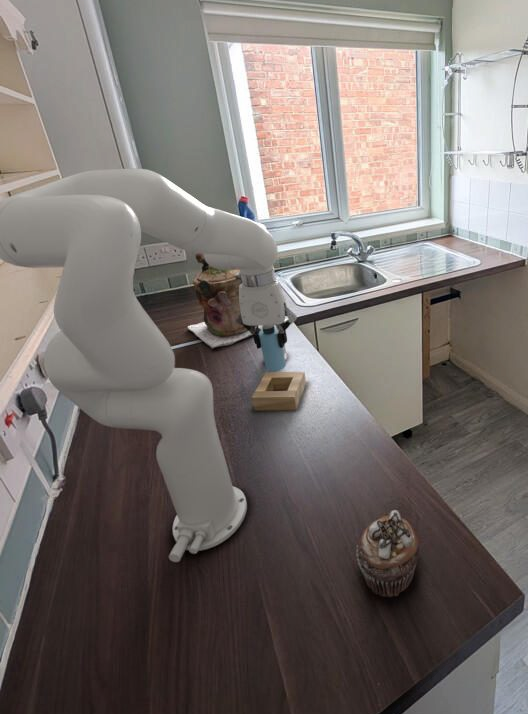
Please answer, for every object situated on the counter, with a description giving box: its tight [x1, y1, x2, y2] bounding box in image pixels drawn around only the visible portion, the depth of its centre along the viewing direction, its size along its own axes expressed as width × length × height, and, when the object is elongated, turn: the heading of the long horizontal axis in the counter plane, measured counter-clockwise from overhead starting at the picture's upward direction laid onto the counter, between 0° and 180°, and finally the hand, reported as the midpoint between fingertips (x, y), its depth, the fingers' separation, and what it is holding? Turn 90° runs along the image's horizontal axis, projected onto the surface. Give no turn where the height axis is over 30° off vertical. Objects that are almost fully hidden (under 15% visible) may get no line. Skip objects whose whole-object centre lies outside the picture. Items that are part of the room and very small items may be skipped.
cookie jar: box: [187, 252, 261, 350], centre depth 138 cm, size 25×25×32 cm
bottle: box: [259, 325, 287, 372], centre depth 100 cm, size 5×5×12 cm
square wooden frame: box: [251, 371, 307, 412], centre depth 105 cm, size 11×11×4 cm
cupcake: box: [355, 509, 420, 598], centre depth 61 cm, size 10×10×10 cm
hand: (271, 344), depth 100 cm, fingers closed on bottle, 5 cm apart
